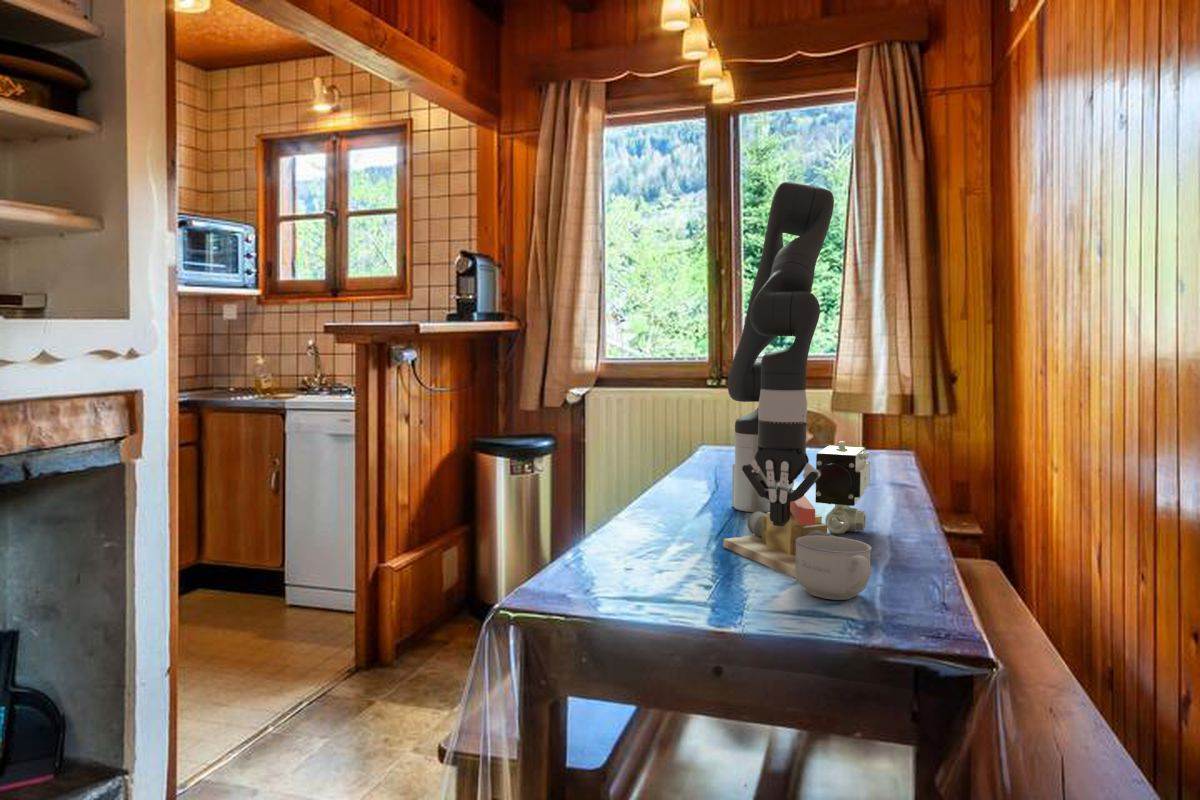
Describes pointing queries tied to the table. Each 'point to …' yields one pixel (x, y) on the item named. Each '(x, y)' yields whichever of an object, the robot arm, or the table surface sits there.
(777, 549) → the valve fixture
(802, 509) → the lever
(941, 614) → the table surface
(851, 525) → the ball valve
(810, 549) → the teacup
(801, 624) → the table surface
